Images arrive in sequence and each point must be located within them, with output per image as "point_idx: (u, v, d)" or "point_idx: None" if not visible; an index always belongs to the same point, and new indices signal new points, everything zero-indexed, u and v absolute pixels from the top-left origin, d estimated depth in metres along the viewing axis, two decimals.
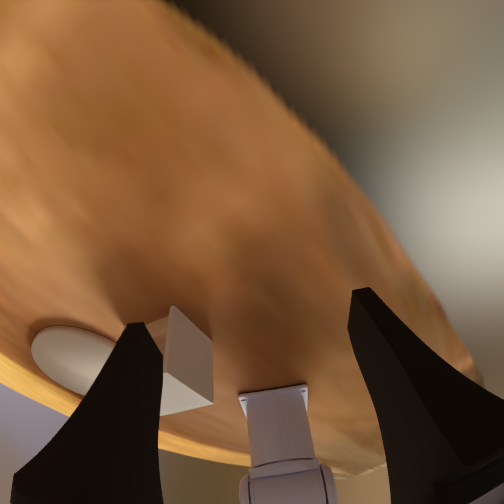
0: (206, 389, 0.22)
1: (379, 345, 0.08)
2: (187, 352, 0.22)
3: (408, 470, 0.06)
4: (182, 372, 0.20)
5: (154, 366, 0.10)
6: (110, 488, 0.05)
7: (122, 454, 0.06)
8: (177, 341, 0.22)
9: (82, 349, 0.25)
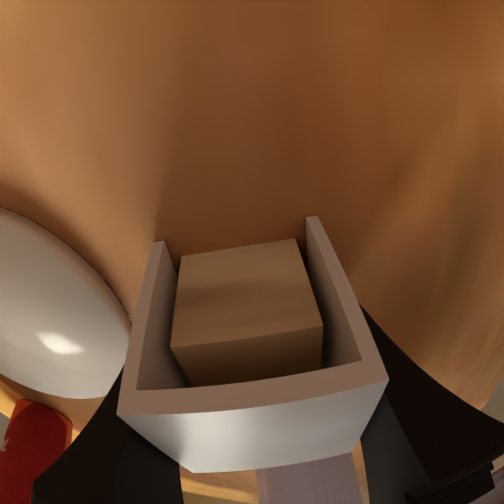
0: None
1: None
2: None
3: (383, 479, 0.06)
4: None
5: None
6: (136, 491, 0.05)
7: (146, 455, 0.06)
8: None
9: (22, 276, 0.10)
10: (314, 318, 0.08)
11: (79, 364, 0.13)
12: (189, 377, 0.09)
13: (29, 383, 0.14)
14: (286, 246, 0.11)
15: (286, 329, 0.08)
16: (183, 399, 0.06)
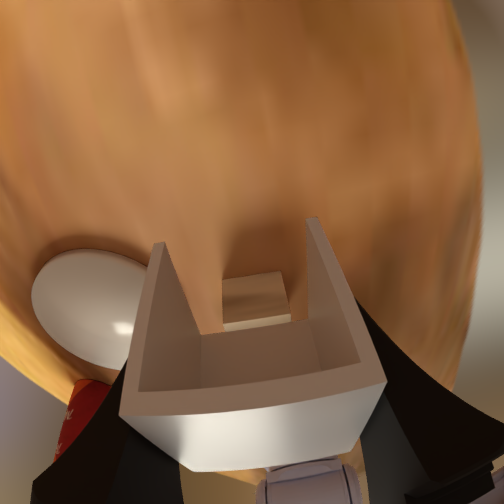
0: None
1: None
2: None
3: (383, 479, 0.06)
4: None
5: None
6: (136, 491, 0.05)
7: (146, 455, 0.06)
8: None
9: (128, 291, 0.20)
10: (287, 310, 0.18)
11: None
12: None
13: (102, 362, 0.25)
14: (276, 275, 0.21)
15: (274, 315, 0.18)
16: (184, 401, 0.06)
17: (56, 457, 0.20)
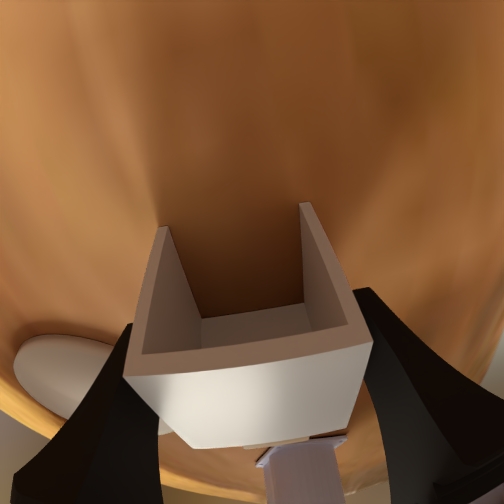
0: None
1: (379, 345, 0.08)
2: None
3: (409, 470, 0.06)
4: None
5: None
6: (110, 488, 0.05)
7: (122, 454, 0.06)
8: None
9: None
10: None
11: None
12: None
13: None
14: None
15: None
16: (184, 360, 0.07)
17: None
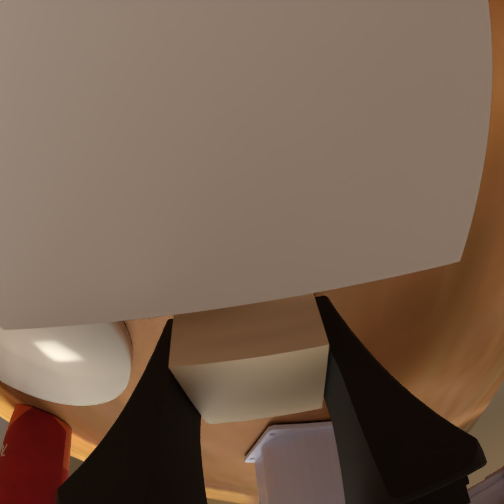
0: None
1: None
2: None
3: (355, 487, 0.06)
4: None
5: None
6: (168, 494, 0.05)
7: (175, 456, 0.06)
8: None
9: None
10: (319, 337, 0.07)
11: (77, 372, 0.13)
12: (189, 395, 0.08)
13: (26, 389, 0.14)
14: None
15: (290, 350, 0.07)
16: None
17: None
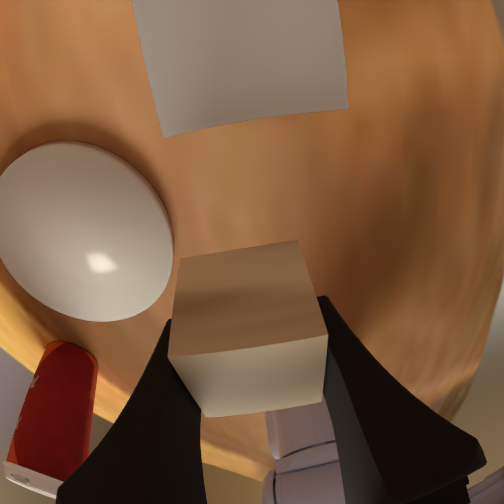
0: None
1: (328, 357, 0.08)
2: None
3: (355, 487, 0.06)
4: None
5: None
6: (167, 494, 0.05)
7: (175, 456, 0.06)
8: None
9: (97, 192, 0.15)
10: (318, 327, 0.08)
11: (126, 276, 0.18)
12: (188, 387, 0.08)
13: (70, 309, 0.20)
14: (289, 250, 0.10)
15: (289, 339, 0.07)
16: None
17: (14, 433, 0.15)
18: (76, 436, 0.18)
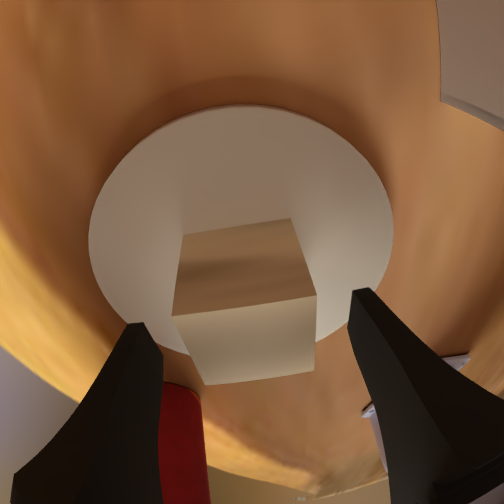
0: None
1: (379, 345, 0.08)
2: None
3: (408, 470, 0.06)
4: None
5: (154, 366, 0.10)
6: (110, 488, 0.05)
7: (122, 454, 0.06)
8: None
9: (326, 193, 0.11)
10: (308, 289, 0.09)
11: None
12: (188, 349, 0.09)
13: None
14: (282, 226, 0.11)
15: (282, 299, 0.08)
16: None
17: None
18: (204, 502, 0.14)
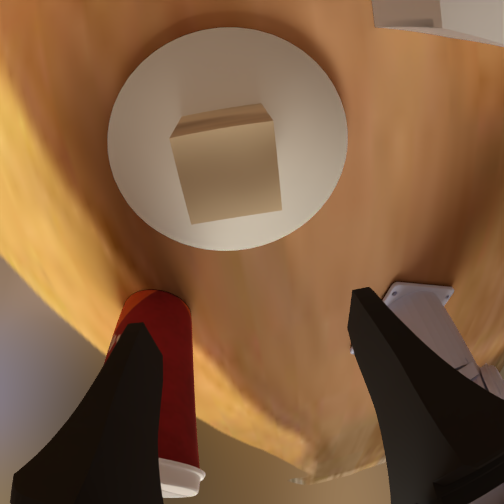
0: None
1: (379, 345, 0.08)
2: None
3: (409, 470, 0.06)
4: None
5: (154, 366, 0.10)
6: (110, 488, 0.05)
7: (122, 454, 0.06)
8: None
9: (287, 84, 0.14)
10: (267, 119, 0.11)
11: (286, 187, 0.17)
12: (179, 175, 0.12)
13: (194, 235, 0.19)
14: (254, 105, 0.14)
15: (248, 123, 0.11)
16: None
17: None
18: (188, 402, 0.17)
